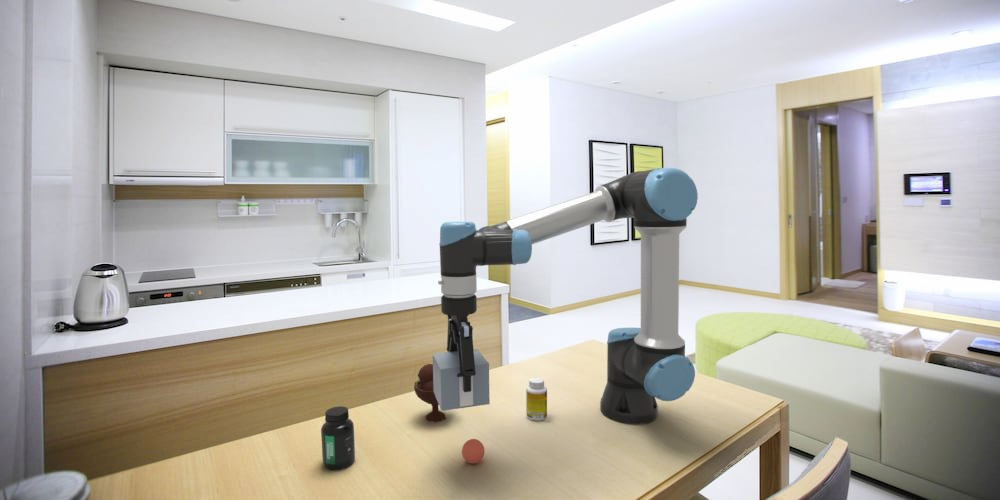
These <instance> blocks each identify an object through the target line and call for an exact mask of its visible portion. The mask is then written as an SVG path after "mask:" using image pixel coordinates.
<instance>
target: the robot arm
mask: <svg viewBox="0 0 1000 500" xmlns="http://www.w3.org/2000/svg"><path fill="white" fill-rule="evenodd" d="M698 197H699V195H698V188H697V186H696V183H695V181H694V179H693V178H691V176H689V175H688V173H687V172H685V171H684V170H681V169H678V168H676V167H675V168H673V167H660V168H654V169H653V168H652V169H648V170H638V171H634V172H631V173H629V174H625V175H624V176H622V177H619V178H617V179H614V180H611V181H609V182H608V183H604V184H601V185H598V186H596V187H595V189H594V191H592V192H590V193H587V194H584V195H581V196H578V197H575V198H572V199H569V200H566V201H563V202H559V203H557V204H553V205H551V206H548V207H544V208H542V209H541V208H540V209H538V210H536V211H532V212H530V213H527V214H523V215H521V216H517V217H514V218H512V219H509V220H506V221H503V222H500V223H496V224H494V225H490V226H488V225H485V226H483V227H480V228H479V229H477V228H476V224H475V222H473V221H446V222H444V223H442V224H441V226H440V229H439V230H440V231H439V260H440V261H439V263H440V278H441V279H439V280H438V281H437V283H438V285H440V290H441V292H440V293H441V294H442V295H441V297H440V303H441V304H440V305H441V308H440V310H441V313H442V314H444V315H445V316H446V317H447V339H446V343H447V344H446V352H454V351H458V358H459V366H460V373H459V374H457V377H459V398H460V407H463V406H470V405H473V376H474V375H476V371H475V361H474V350H473V349H474V340H473V338H474V337H473V330H474V327H473V326H472V325H471V322H470V321H469V319H468V317H469V316H470V315H472V314H475V313H476V312H477V310H478V309H477V307H478V305H477V302H478V301H477V295H476V293H477V292H478V291H477V282H478V281H477V267H479V266H480V267H483V266H503V265H504V266H508V265H510V266H511V265H513V266H516V265H523V264H527V263H529V262H530V261H531V257H532V254H533V253H532V252H533V245H535V244H538V243H541V242H544V241H546V240H549V239H552V238H555V237H557V236H562V235H563V234H567V233H570V232H572V231H576V230H578V229H581V228H584V227H588V226H590V225H593V224H596V223H598V222H602V221H605V222H607V223H611V222H614V221H617V220H620V219H629V218H630V219H631V218H633V228H634V229H635V230H636V231H637V232H638V233H639V234H640V327H620V328H618V327H617V328H613V329H611V330H610V331H609V332H608V334H607V341H606V344H607V351H606V352H607V355H606V356H607V359H606V360H607V364H606V365H607V367H606V370H607V371H606V374H607V375H606V377H607V378H606V385H605V387H604V390H603V393H602V396H601V398H600V403H599V405H600V406H599V407H600V408H599V409H600V412H601V413H602V415H604V416H605V417H606V418H608V419H610V420H613V421H616V422H620V423H623V424H630V425H631V424H633V425H642V424H648V423H651V422H653V421H655V420H656V419H657V418H658V415H659V414H658V412H659V411H658V410H659V409H658V408H659V407H658V404H657V400H660V401H664V402H672V401H676V400H679V399H680V398H682V397H683V396H685V394H686V393H687V392H688V391H690V390H691V388H692V386H693V384H694V381H695V377H696V370H695V366H694V364H693V362H691V360H690V359H689V358H688V357H686V341H685V339H683V338H682V336H681V335H679V318H680V317H679V315H680V314H679V312H680V311H679V308H680V307H679V306H680V305H679V304H680V303H679V302H680V301H679V300H680V297H679V296H680V289H679V288H680V281H679V280H680V234H681V233H682V232H683V231H684V230H685V229H686V228H687V222H688V219H687V218H688V217H689V216H691V215H692V213H693V211H694V210H695V209H696V207H697V204H698ZM467 369H469V370H467ZM656 399H657V400H656Z"/></svg>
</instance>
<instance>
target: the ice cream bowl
mask: <svg viewBox="0 0 1000 500" xmlns="http://www.w3.org/2000/svg"><path fill="white" fill-rule="evenodd" d="M417 377H418V379H419V380H417V381H415V382H414V386H413V388H414V393H415V395H416V397H417V398H418V399H420V400H421V401H423V402H424V403H427V404H428V405H431V411H430V412H428V413H426V415H425V421H426V422H429V423H439V422H442V421H444V420H445V419H446V414H445V412H444V411H441V410H439V409H440V408H439V407H440V406H439V404H438V401H437V399H436V396H435V394H434V387H433V363H427V364H424V365H423V366H422V367H421V368H420V369H419V370H418V373H417Z"/></svg>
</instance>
